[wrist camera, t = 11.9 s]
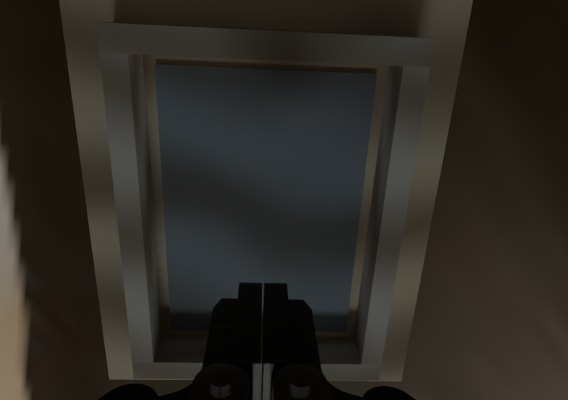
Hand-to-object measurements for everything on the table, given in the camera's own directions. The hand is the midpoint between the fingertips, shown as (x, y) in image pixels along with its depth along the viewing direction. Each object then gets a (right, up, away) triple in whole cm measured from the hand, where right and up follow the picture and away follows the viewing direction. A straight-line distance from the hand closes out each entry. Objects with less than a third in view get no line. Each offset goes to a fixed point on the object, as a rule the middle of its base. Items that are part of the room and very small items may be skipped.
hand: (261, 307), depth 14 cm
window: (0, +3, +8) cm, 8 cm away
